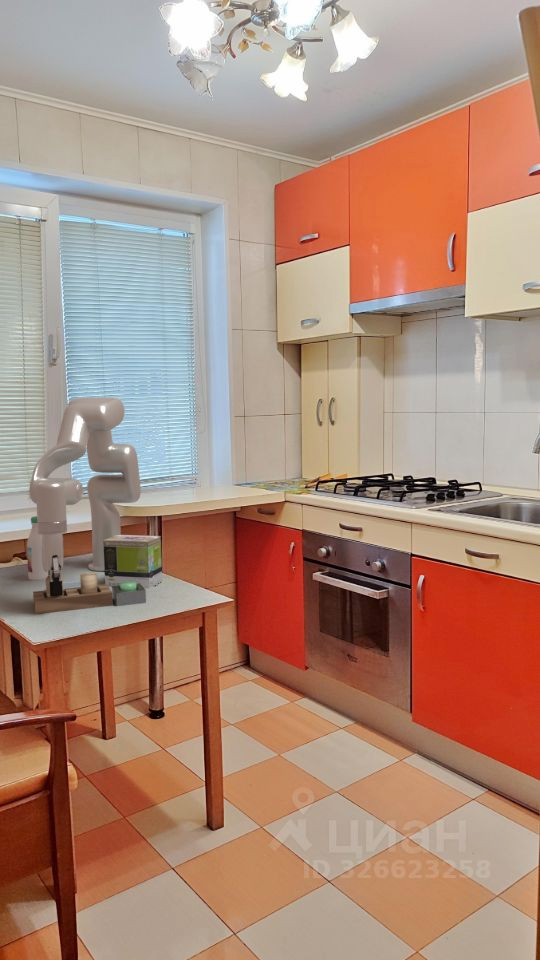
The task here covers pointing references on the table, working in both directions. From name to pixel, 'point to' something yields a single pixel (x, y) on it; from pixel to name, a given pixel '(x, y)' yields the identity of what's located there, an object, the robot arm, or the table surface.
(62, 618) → the table surface
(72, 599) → the wooden dowel rack
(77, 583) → the shallow grey square tray
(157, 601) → the table surface
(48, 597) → the dowel
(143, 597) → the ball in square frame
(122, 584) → the button
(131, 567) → the tea box
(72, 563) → the table surface
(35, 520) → the milk bottle
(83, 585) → the seated dowel
